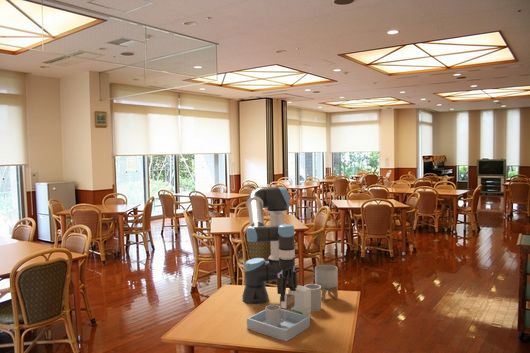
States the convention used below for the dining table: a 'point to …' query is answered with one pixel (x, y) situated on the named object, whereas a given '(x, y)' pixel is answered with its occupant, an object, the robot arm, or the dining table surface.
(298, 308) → the skincare box
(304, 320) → the tote
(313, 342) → the dining table surface
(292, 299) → the walnut cube
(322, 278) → the planter
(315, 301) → the cup
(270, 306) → the cup
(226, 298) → the dining table surface
